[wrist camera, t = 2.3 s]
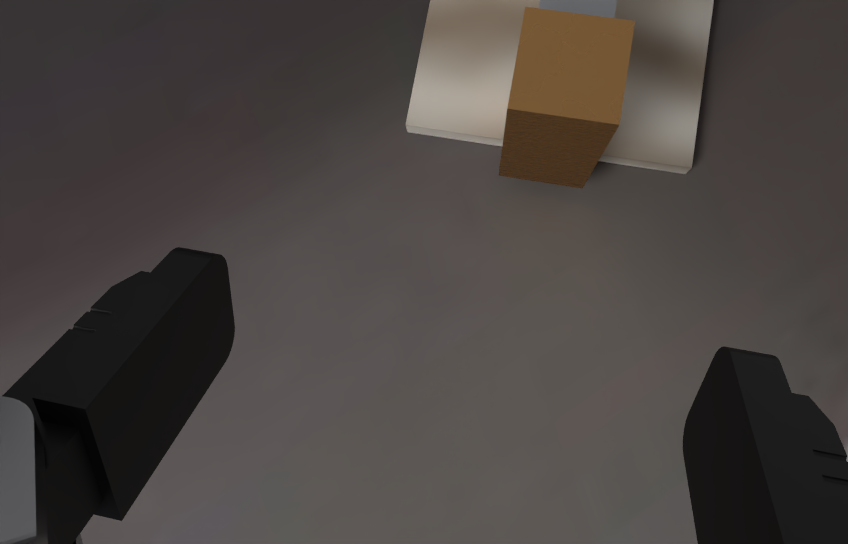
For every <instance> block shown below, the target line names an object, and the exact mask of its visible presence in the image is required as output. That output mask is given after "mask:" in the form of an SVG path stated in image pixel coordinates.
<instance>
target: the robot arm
mask: <svg viewBox="0 0 848 544" xmlns="http://www.w3.org/2000/svg"><path fill="white" fill-rule="evenodd" d="M234 332H235V325H234V316H233V308H232V299H231V291H230V283H229V274H228V267H227V262H226V260H225V258H224V257H223V256H222V255H219V254H214V253H208V252H203V251H197V250H191V249H186V248H180V247H178V248H175V249H173V250H172V251H171V252H170V253H169V254H168V255H167V256H166V257H165V258H164V259H163V260H162V261H161V262H160V263H159V264H158V265H157V266H156V267H155V268H154V269H153V271H152V272H151V273H149V272H144V271H140V272H138V273H137V274H135V275H133V276H131V277H129V278H127V279H125V280H124V281H122V282H120V283H118V284H116V285H114V286H112V287H111V288H110V289H109V290H108V291H107V292H106V293H105V294H104V295H103V296H102V297H101V298H100V299H99V300H98V301H97V302H96V303H95V304H94V305H93V306H92V307H91V311H90V312H86V313H85V314H84V315H83V316H82V317H81V318H80V319H79V320H78V321H77V322H76V323H75V324H74V328H73V329H72V330H71V329H69V330H68V331H67V332H66V333H65V334H64V335H63V336H62V337H61V338H60V339H59V340H58V341H57V342H56V343H55V344H54V345H53V346H52V347H51V348H50V349H49V350H48V351H47V352H46V353H45V354H44V355H43V356H42V357H41V358H40V359H39V360H38V361H37V362H36V363H35V364H34V365H33V366H32V367H31V368H30V369H29V370H28V371H27V372H26V373H25V374H24V375H23V376H22V377H21V378H20V379H19V380H18V381H17V382H16V383H15V384H14V385H13V386H12V387H11V388H10V389H9V390H8V391H7V392H6V393H5V394H4V395H3V396H0V544H83V542H82V538H81V535H80V533H81V531H82V530H83V528H84V527H85V525H86V524H87V523H88V521H89V520H90V518H91V517H92V515H93V514H95V515H99V516H103V517H107V518H112V519H116V520H120V521H122V520H123V518H124V516H125V515H126V513H127V512H128V510H129V509H130V507H131V506H132V504H133V503H134V501H135V500H136V498H137V497H138V495H139V494H140V492H141V490H142V489H143V487H144V486H145V484H146V483H147V481H148V480H149V478H150V477H151V475H152V474H153V472H154V471H155V469H156V468H157V466H158V464H159V463H160V461H161V460H162V458H163V457H164V455H165V454H166V452H167V451H168V449H169V448H170V446H171V445H172V443H173V441H174V440H175V438H176V437H177V435H178V434H179V432H180V431H181V429H182V428H183V426H184V425H185V423H186V422H187V420H188V419H189V417H190V415H191V414H192V412H193V411H194V409H195V408H196V406H197V405H198V403H199V402H200V400H201V399H202V397H203V396H204V394H205V393H206V391H207V389H208V388H209V386H210V385H211V383H212V382H213V380H214V379H215V377H216V376H217V374H218V373H219V371H220V370H221V368H222V367H223V365H224V363H225V362H226V360H227V358H228V356H229V354H230V351H231V348H232V344H233V340H234ZM683 455H684V461H685V467H686V473H687V480H688V486H689V492H690V498H691V504H692V510H693V516H694V523H695V529H696V535H697V541H698V544H848V462H847V461H846V458H847V455H846V452H845V450H844V447H843V445H842V443H841V440H840V438H839V435H838V433H837V431H836V428H835V426H834V424H833V423H832V422H831V421H830V420H829V419H828V418H827V417H826V415H825V414H824V413H823V412H822V411H821V410H820V409H819V408H818V406H817V405H816V404H815V403H814V402H813V401H812V400H811V399H810V397H809V396H805V395H799V394H794V393H791V390H790V387H789V385H788V382H787V379H786V376H785V374H784V371H783V368H782V366H781V363H780V361H779V359H778V358H777V357H776V356H773V355H768V354H763V353H757V352H752V351H746V350H740V349H735V348H729V347H721V348H720V349H719V350H718V351H717V352H716V354H715V356H714V358H713V360H712V362H711V364H710V367H709V369H708V371H707V373H706V375H705V378H704V380H703V382H702V384H701V387H700V389H699V391H698V393H697V395H696V398H695V400H694V402H693V404H692V407H691V409H690V411H689V413H688V416H687V419H686V423H685V428H684V435H683Z"/></svg>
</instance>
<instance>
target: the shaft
mask: <svg viewBox="0 0 848 544" xmlns="http://www.w3.org/2000/svg"><path fill="white" fill-rule="evenodd" d="M616 3H617V0H540V1H539V7H538V8H532V7H525V11H524V16H523V22H522V28H521V33H520V39H519V45H518V51H517V56H516V62H515V68H514V73H513V79H512V85H511V90H510V96H509V102H508V107H507V115H506V122H505V130H504V138H503V146H502V153H501V161H500V169H499V175H500V176H506V177H512V178H519V179H525V180H532V181H538V182H544V183H551V184H557V185H564V186H570V187H576V188H583V186H584V185H585V183H586V181H587V180H588V178H589V176H590V174H591V173H592V171H593V169H594V168H595V166H596V164H597V163H598V161H599V159H600V157H601V156H602V154H603V152H604V151H605V149H606V147H607V145H608V144H609V142H610V140H611V139H612V137H613V135H614V134H615V132H616V130H617V128H618V127H619V125H620V119H621V112H622V105H623V99H624V92H625V85H626V79H627V72H628V65H629V59H630V52H631V45H632V38H633V32H634V25H635V21H632V20H624V19H617V18H614V16H615V10H616Z"/></svg>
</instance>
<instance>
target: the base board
mask: <svg viewBox="0 0 848 544" xmlns="http://www.w3.org/2000/svg"><path fill="white" fill-rule="evenodd" d="M539 1H540V0H430V5H429V10H428V15H427V20H426V25H425V30H424V35H423V40H422V45H421V50H420V55H419V60H418V65H417V70H416V75H415V80H414V85H413V90H412V96H411V101H410V106H409V111H408V116H407V121H406V128H407V131H408V132H410V133H417V134H424V135H430V136H437V137H443V138H450V139H457V140H463V141H470V142H476V143H483V144H490V145H496V146H503V138H504V130H505V122H506V115H507V107H508V102H509V96H510V90H511V85H512V79H513V73H514V68H515V62H516V56H517V51H518V45H519V39H520V33H521V28H522V22H523V16H524V11H525V7H532V8H538V7H539ZM713 3H714V0H617V3H616V10H615V16H614V18H617V19H624V20H632V21H635V25H634V32H633V38H632V45H631V52H630V59H629V65H628V72H627V79H626V85H625V92H624V99H623V105H622V112H621V119H620V125H619V127H618V128H617V130H616V132H615V134H614V135H613V137H612V139H611V140H610V142H609V144H608V145H607V147H606V149H605V151H604V152H603V154H602V156H601V157H600V159H599V161H602V162H608V163H615V164H621V165H628V166H635V167H641V168H648V169H654V170H661V171H668V172H674V173H681V174H686V173H687V172H688V171H689V170H690V169H691V168H692V162H693V155H694V147H695V140H696V132H697V125H698V117H699V109H700V102H701V94H702V87H703V79H704V71H705V64H706V56H707V49H708V41H709V34H710V26H711V18H712V11H713Z"/></svg>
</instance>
